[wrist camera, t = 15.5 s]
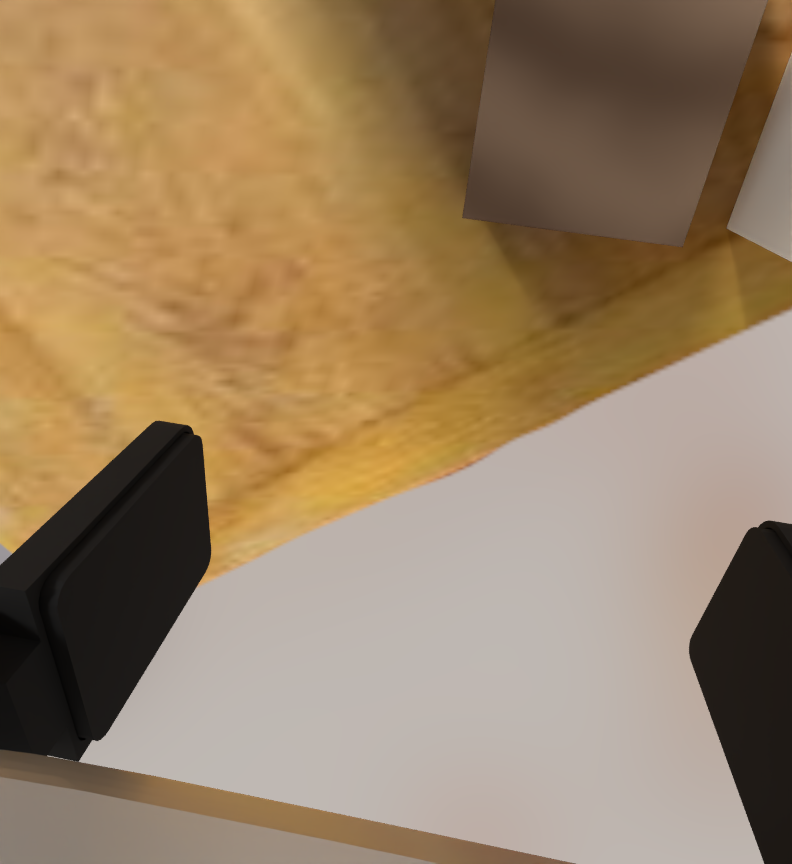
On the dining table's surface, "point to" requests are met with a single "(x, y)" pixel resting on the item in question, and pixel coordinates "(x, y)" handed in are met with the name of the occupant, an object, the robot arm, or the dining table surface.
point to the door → (770, 180)
